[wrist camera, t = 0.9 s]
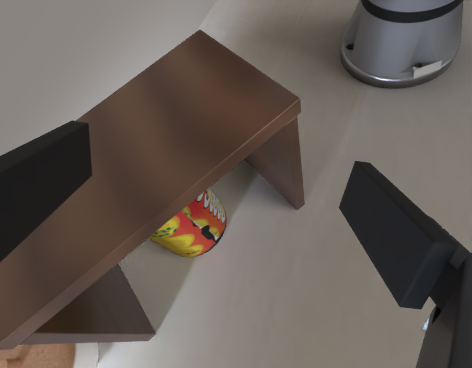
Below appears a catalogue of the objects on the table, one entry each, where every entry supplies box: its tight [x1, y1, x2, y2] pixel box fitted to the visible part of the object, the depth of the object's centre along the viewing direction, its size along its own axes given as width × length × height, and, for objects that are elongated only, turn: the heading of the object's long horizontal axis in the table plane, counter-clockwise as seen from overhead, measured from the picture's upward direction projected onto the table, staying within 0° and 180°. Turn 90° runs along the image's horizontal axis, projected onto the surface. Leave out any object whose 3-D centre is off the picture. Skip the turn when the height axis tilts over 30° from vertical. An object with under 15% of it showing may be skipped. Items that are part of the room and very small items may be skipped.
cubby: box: [0, 30, 305, 350], centre depth 30 cm, size 25×13×18 cm, turn 129°
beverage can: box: [149, 187, 226, 257], centre depth 34 cm, size 9×9×12 cm
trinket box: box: [0, 343, 99, 368], centre depth 31 cm, size 11×11×9 cm
